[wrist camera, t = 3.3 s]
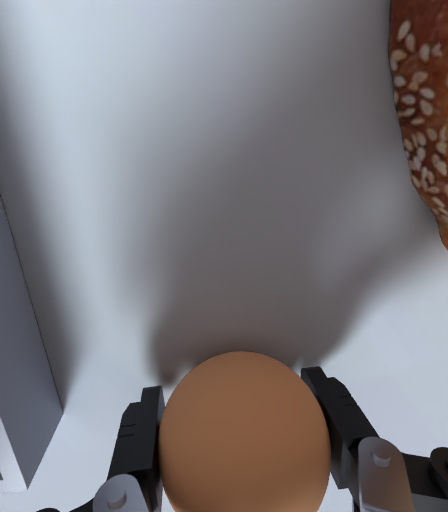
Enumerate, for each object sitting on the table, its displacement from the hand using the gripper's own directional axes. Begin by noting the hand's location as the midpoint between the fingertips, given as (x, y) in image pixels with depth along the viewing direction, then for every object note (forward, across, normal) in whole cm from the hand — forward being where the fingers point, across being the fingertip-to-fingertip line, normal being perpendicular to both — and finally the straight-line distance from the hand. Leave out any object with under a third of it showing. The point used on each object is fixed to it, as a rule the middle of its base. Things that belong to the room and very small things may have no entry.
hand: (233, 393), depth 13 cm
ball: (-2, 0, 0) cm, 2 cm away
